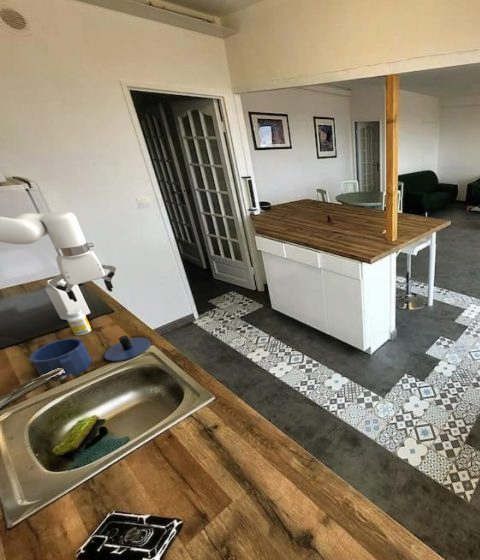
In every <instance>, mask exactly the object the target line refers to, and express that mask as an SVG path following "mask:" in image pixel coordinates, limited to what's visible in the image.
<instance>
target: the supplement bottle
mask: <svg viewBox="0 0 480 560" xmlns="http://www.w3.org/2000/svg"><path fill="white" fill-rule="evenodd" d="M67 315H68V317H69V318H68V319H67V320H66V321H67V324H68V325H69V327H70V329H71V331H72V333H73V335H74V336H84V335H86V334H88V333H91V331H92V328H91V324H90V322H89V320H88V318H87V315H84V314H82V312H81V310H72V311H70V312H68V313H67Z"/></svg>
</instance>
